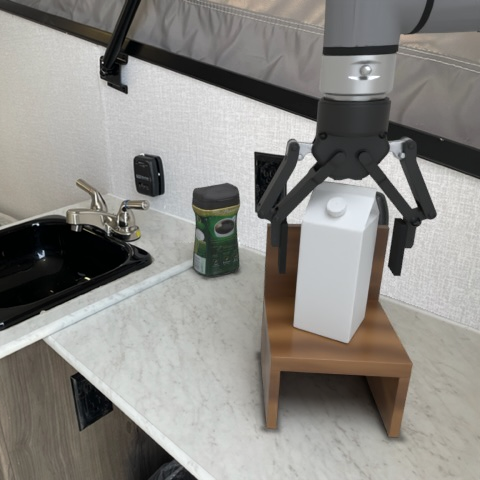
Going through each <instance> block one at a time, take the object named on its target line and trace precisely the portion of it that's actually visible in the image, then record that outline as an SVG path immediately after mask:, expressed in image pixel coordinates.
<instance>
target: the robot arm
mask: <svg viewBox="0 0 480 480" xmlns="http://www.w3.org/2000/svg"><path fill="white" fill-rule="evenodd" d="M324 5H325V6H324V24H323V26H324V27H323V43H322V44H323V46H322V52H321V53H322V54H321V61H320V63H321V65H320V74H319V84H318V85H319V86H318V91H319V92H320V93H321V94H323V97H320V99H319V100H318V102H317V111H316V112H317V116H316V126H315V127H316V128H315V136H314V138H313V140H312V142H307V141H299V140H297V139H296V138H290V139H288V140H287V141H286V142H287V143H286V147H285V151H284V152H285V153H284V157H283V160H281V163H280V164H279V166H278V168H277V170H276V172H275V174H274V175H273V176H272V178H271V180H270V182H269V184H268V186H267V187H266V189H265V191H264V193H262V196H261V198H260V200H259V202H258V203H257V205H256V208H255V209H256V216H257V217H258V219H260V220H267V221H268V222H270V223H271V229H270V241H271V245H272V247H278V269H279V274H286V257H287V239H288V224H289V223H288V219H287V217H288V216H289V215H290V214H292V212H294V210H295V209H296V208H297V207H298V206H299V205H300V204H301V203H302V202H303V201H304V200H305V199H306V198H307V197H308V196H309V195H310V194H312V192H313V190H314V189H315V188H316V187H317V186H318V185H319V184H321V183H322V182H323V181H326V179H328V178H330V179H332V180H333V181H343V180H344V181H345V180H353V181H363V179H366V178H367V177H371V179H372V180H373V181H374V182H375V184H377V186H378V187H379V189H380V190H381V192H383V194H384V195H385V196H386V197H387V198H388V200H389V201H390V202H391V204H392V205H393V206H394V207H395V208H396V210H397V211H398V212H399V214H400V215H401V216H402V217H394V221H393V227H392V235H391V240H390V247H389V255H388V262H387V268H388V269H389V271H390V272H391V274H392V275H393V277H401V275H402V269H403V263H404V256H405V250H406V249H412V248H413V246H414V245H415V240H416V239H415V238H416V233H417V228H418V227H420V226H421V225H422V221H425V220H428V221H429V220H430V221H431V220H434V219H435V218H437V216H438V212H437V210H436V207H435V204H434V203H433V199H432V197H431V195H430V192H429V190H428V189H429V188H428V186H427V184H426V182H425V179H424V177H423V174H422V170H421V169H420V165H419V163H418V160H417V156H418V155H417V153H418V152H417V151H418V145H417V142H416V141H415V140H413V139H412V138H410V137H408V136H404V135H403V136H401V137H400V138H399V139H396V140H388V129H389V124H390V115H391V107H392V100H391V99H390V97H388V96H387V94H390V93H391V92H392V91H393V89H394V82H395V74H396V66H397V56H398V52H399V49H400V48H399V46H400V40H401V35H404V36H407V35H409V36H410V35H417V34H419V35H420V34H421V35H422V34H452V33H453V34H454V33H471V32H477V33H480V0H325V4H324ZM389 153H392V155H393V157H394V158H395V159H397V160H398V161H399V164H400V166H401V168H402V171H403V174H404V177H405V179H406V181H407V184H408V186H409V190H410V192H411V194H412V197H413V200H414V202H415V205H416V207H413V208H412V207H411V206H410V204H409V203H408V202H407V200H406V199H405V197H403V195H402V194H401V193H400V191H399V190H398V189H397V187H395V185H394V184H393V183H392V182H391V180H390V179H389V178H388V176H387V175H386V173H385V172H384V171H383V169H381V167H380V166H379V165H380V164H381V162H382V161H383V160H384V159H385V158H386V157H387V156H388V154H389ZM308 154H311V155H312V157H313V158H314V159H315V161H316V162H315V163H314V164H313V165H312V166H311V167H310V168H309V170H308V171H307V173H306V174H305V175H304V176H303V177H302V178H301V179H300V180H299V181H298V182H297V183H296V184H295V186H294V187H293V188H292V189H291V190H290V191H288V193H286V195H285V196H284V197H283V198H281V200H280V201H279V202H278V203H277V204H276V205H275V203H276V202H277V200H278V199H279V197H280V195H281V193H282V191H283V190H284V188H285V186H286V185H287V183H288V181H289V179H290V177H291V176H292V174H293V172H294V171H295V169H296V167H297V164H298V162H301V161H303V160H304V159H305V157H306V156H307V155H308ZM274 205H275V206H274Z"/></svg>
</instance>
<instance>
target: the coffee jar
mask: <svg viewBox="0 0 480 480" xmlns="http://www.w3.org/2000/svg"><path fill="white" fill-rule="evenodd" d="M240 207H241V197H240V190H239V188H238V186H236V185H234V184H232V183H229V182H224V183H219V184H213V185H207V186H202V187H195V188H194V189H193V191H192V199H191V208H192V211H193V213H194V217H195V219H194V221H195V227H194V244H193V254H192V267H193V269H194V270H195V272H196V273H198V274H199V275H202V276H206V277H209V278H212V277H218V276H223V275H226V274H230V273H233V272H236V271H237V270H239V267H240V266H241V265H240V250H239V239H238V213H239V210H240Z"/></svg>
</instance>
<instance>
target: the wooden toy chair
mask: <svg viewBox="0 0 480 480" xmlns="http://www.w3.org/2000/svg"><path fill="white" fill-rule="evenodd" d="M266 223H267V222H266ZM301 224H302V223H288V239H287V257H286V274H279V269H278V247H272V245H271V241H270V229H271V222H270V223H269V222H268V223H267V224H266V236H265V237H266V239H265V257H264V258H265V261H264V279H263V296H262V297H263V298H262V314H261V315H262V316H261V334H260V335H261V336H260V355H259V356H260V364H261V377H262V387H263V388H262V389H263V401H264V412H265V424H266V429H272V430H273V429H275V430H276V429H277V425H278V410H279V398H280V397H279V394H280V383H281V382H280V381H281V372H296V373H311V374H312V373H313V374H329V375H330V374H331V375H351V376H365V379H366V381H367V384H368V386H369V389H370V392H371V394H372V396H373V399H374V402H375V404H376V408H377V410H378V412H379V415H380V418H381V420H382V423H383V425H384V429H385V431H386V433H387V437H388V438H399V437H400V432H401V427H402V422H403V417H404V411H405V408H406V407H405V406H406V401H407V396H408V391H409V386H410V381H411V375H412V371H413V367H414V366H413V365H414V364H413V362H412V359H411V358H410V356H409V354H408V352H407V351H406V348H405V347H404V344H403V343H402V341H401V339H400V337H399V335H398V334H397V332H396V330H395V328H394V326H393V324H392V322H391V321H390V319H389V317H388V315H387V313H386V311H385V310H384V307H383V306H382V304H381V303H380V293H381V287H382V281H383V273H384V267H385V260H386V255H387V248H388V243H389V242H388V241H389V235H390V226H388V224H378V227H377V234H376V241H375V248H374V255H373V262H372V269H371V276H370V283H369V290H368V296H367V303H366V310H365V317H364V319H363V321H362V322H361V324H360V325H359V327H358V329H357V330H356V332H355V333H354V335H353V337H352V338H351V340H350V341H349V343H344V342H341V341H338V340H335V339H331V338H328V337H325V336H322V335H318V334H315V333H312V332H309V331H305V330H302V329H299V328H296V327H294V326H293V324H294V311H295V299H296V286H297V273H298V261H299V248H300V236H301Z"/></svg>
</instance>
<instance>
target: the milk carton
mask: <svg viewBox="0 0 480 480" xmlns="http://www.w3.org/2000/svg"><path fill="white" fill-rule="evenodd" d="M376 197H377V187H368V186H361V185H354V184H346V183H340V182H339V183H338V182H331V181H326V180H324V181H323V182H322V183H321V184H319V185H318V186H317V187H316V188H315V189H314V190H313V191H312V192H311V195H310V198H309V200H308V202H307V205H306V208H305V210H304V213H303V216H302V217H301V223H300V224H301V236H300V248H299V261H298V273H297V286H296V299H295V311H294V324H293V326H294V327H296V328H299V329H302V330H305V331H309V332H312V333H315V334H318V335H322V336H325V337H328V338H331V339H335V340H338V341H341V342H344V343H349V341H350V340H351V338H352V337H353V335H354V333H355V332H356V330H357V329H358V327H359V325H360V324H361V322H362V321H363V319H364V317H365V310H366V303H367V296H368V290H369V283H370V276H371V269H372V262H373V255H374V248H375V241H376V234H377V227H378V225H379V219H380V208H379V206H378V202H377V198H376Z"/></svg>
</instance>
